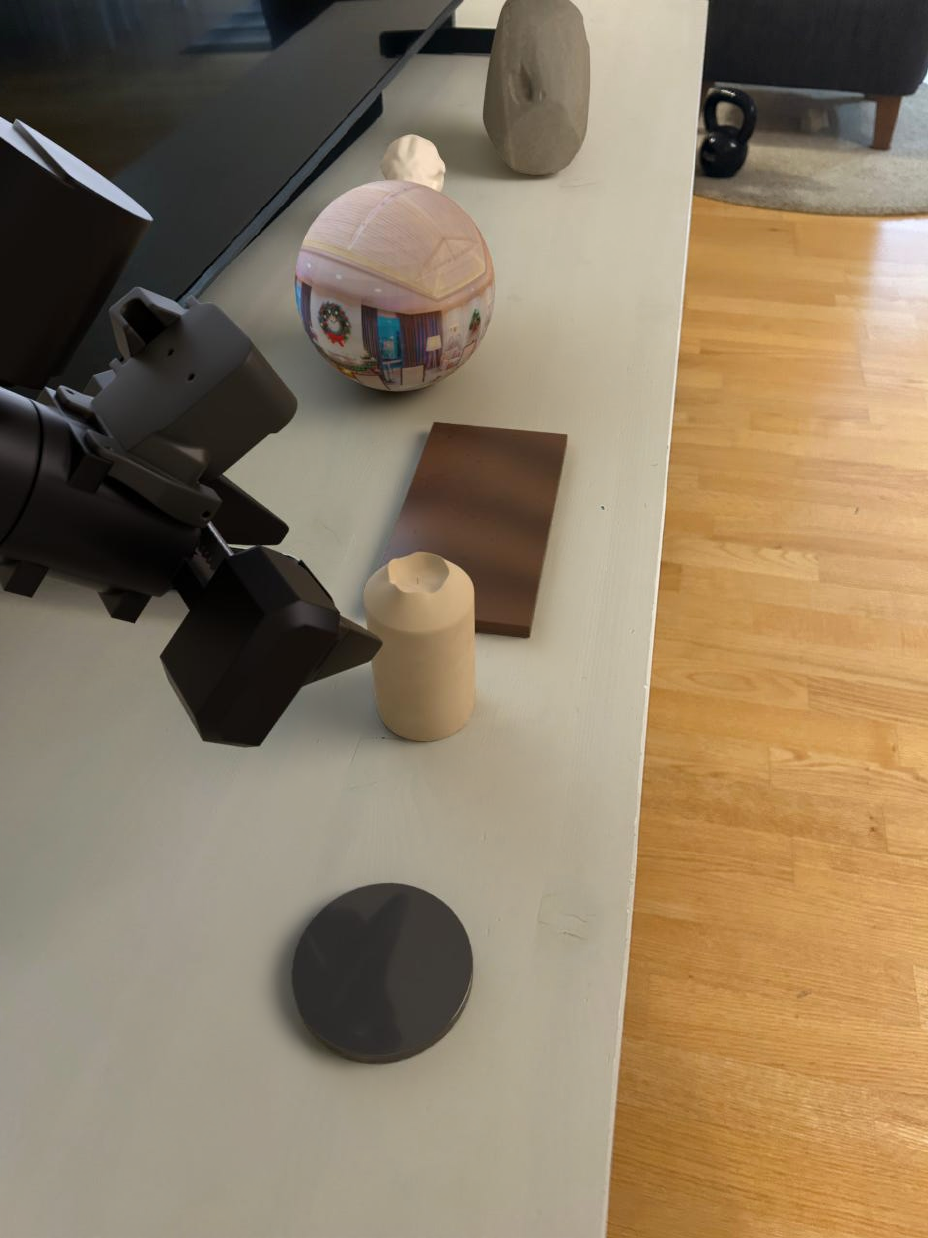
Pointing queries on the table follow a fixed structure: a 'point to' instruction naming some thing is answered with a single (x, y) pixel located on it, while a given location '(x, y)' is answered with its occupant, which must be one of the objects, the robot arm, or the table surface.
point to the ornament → (395, 285)
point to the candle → (422, 645)
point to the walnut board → (485, 515)
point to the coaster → (382, 972)
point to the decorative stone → (538, 85)
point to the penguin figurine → (414, 162)
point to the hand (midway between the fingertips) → (326, 588)
